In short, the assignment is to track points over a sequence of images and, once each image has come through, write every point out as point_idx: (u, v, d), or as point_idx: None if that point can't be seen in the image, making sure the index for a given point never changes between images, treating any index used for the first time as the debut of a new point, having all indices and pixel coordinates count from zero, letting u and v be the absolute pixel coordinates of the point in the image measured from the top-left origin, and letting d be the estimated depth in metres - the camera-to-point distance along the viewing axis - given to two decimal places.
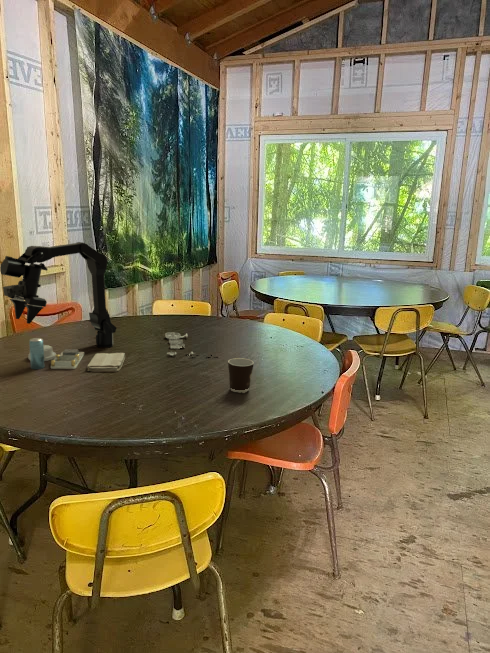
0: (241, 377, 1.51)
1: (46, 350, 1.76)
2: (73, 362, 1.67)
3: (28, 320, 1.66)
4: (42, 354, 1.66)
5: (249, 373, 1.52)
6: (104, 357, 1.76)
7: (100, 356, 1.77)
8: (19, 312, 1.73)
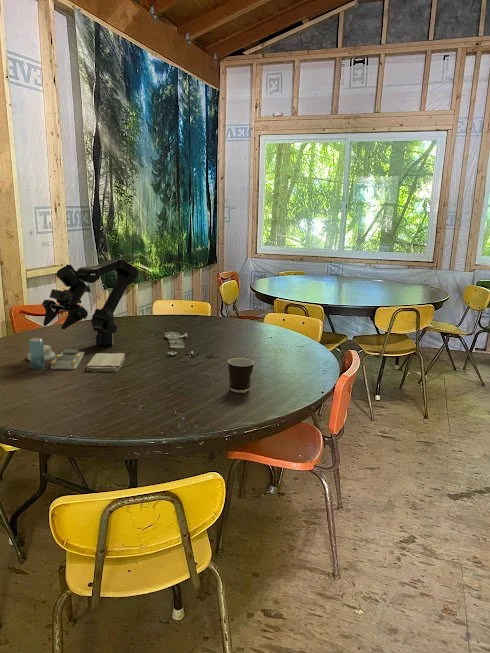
0: (241, 377, 1.51)
1: (45, 350, 1.76)
2: (73, 362, 1.67)
3: (64, 325, 1.70)
4: (42, 354, 1.66)
5: (249, 373, 1.52)
6: (104, 357, 1.76)
7: (100, 356, 1.77)
8: (48, 320, 1.75)
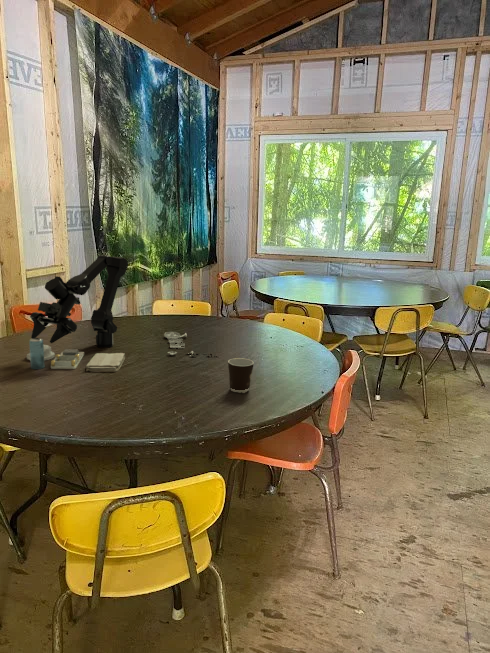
0: (241, 377, 1.51)
1: (44, 350, 1.76)
2: (73, 362, 1.67)
3: (52, 339, 1.66)
4: (42, 354, 1.66)
5: (249, 373, 1.52)
6: (103, 357, 1.75)
7: (100, 356, 1.77)
8: (36, 333, 1.71)
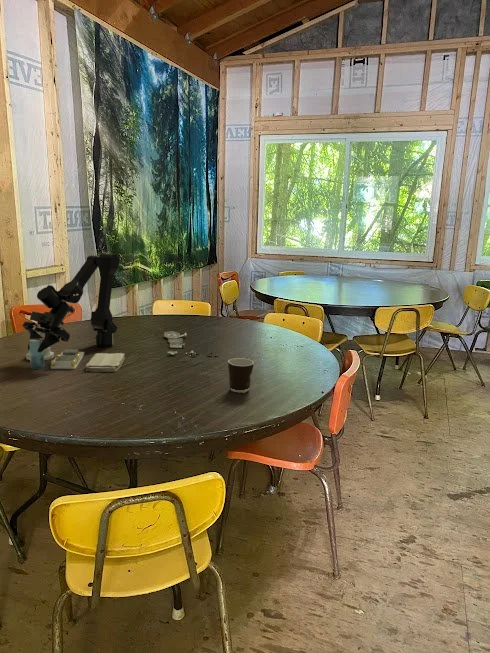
0: (241, 377, 1.51)
1: (44, 350, 1.76)
2: (73, 362, 1.67)
3: (40, 348, 1.64)
4: (42, 354, 1.66)
5: (249, 373, 1.52)
6: (103, 357, 1.75)
7: (99, 356, 1.77)
8: None
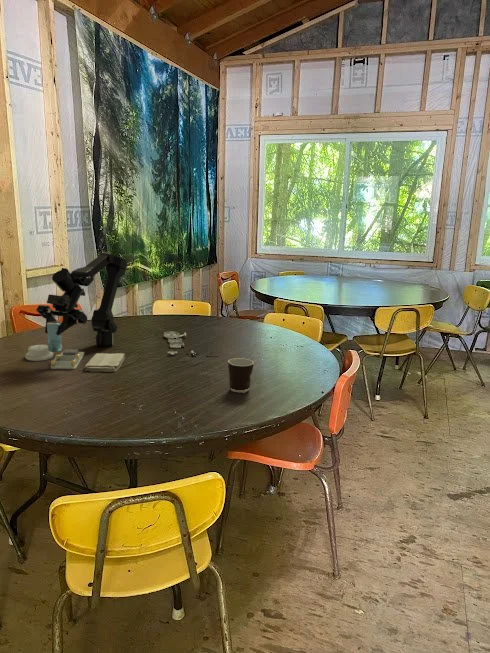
0: (241, 377, 1.51)
1: (43, 349, 1.76)
2: (73, 362, 1.67)
3: (59, 331, 1.65)
4: (60, 337, 1.67)
5: (249, 373, 1.52)
6: (103, 357, 1.75)
7: (99, 356, 1.77)
8: None
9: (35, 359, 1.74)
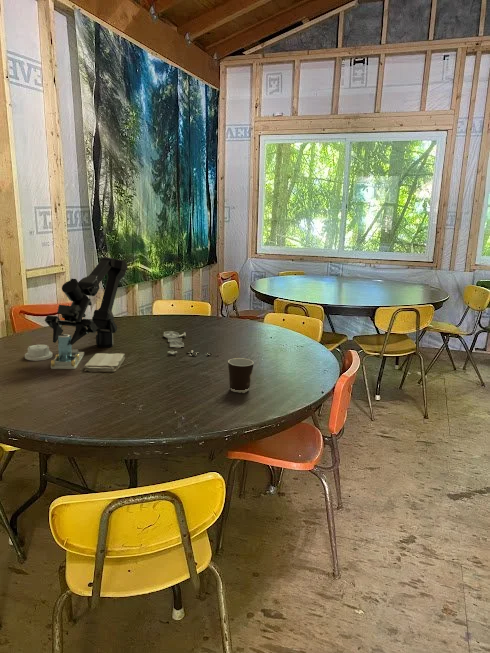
0: (241, 377, 1.51)
1: (42, 349, 1.76)
2: (73, 362, 1.67)
3: (72, 341, 1.67)
4: (71, 349, 1.70)
5: (249, 373, 1.52)
6: (103, 357, 1.75)
7: (99, 356, 1.77)
8: (57, 336, 1.70)
9: (34, 359, 1.74)
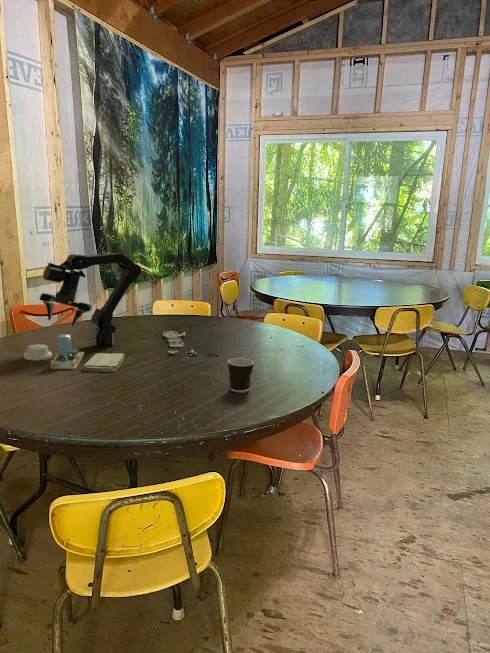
0: (241, 377, 1.51)
1: (42, 349, 1.76)
2: (73, 362, 1.67)
3: (73, 323, 1.84)
4: (71, 349, 1.70)
5: (249, 373, 1.52)
6: (102, 357, 1.75)
7: (99, 356, 1.77)
8: (51, 313, 1.84)
9: (33, 358, 1.74)
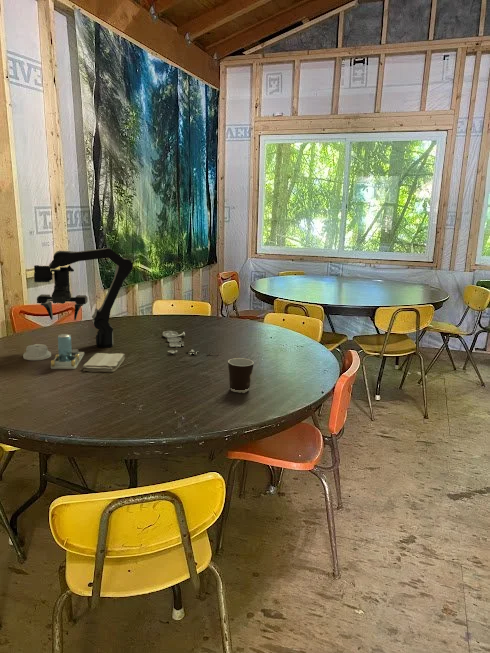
0: (241, 377, 1.51)
1: (41, 349, 1.77)
2: (73, 362, 1.67)
3: (75, 317, 1.90)
4: (71, 349, 1.70)
5: (249, 373, 1.52)
6: (102, 357, 1.75)
7: (99, 356, 1.77)
8: (51, 312, 1.89)
9: (32, 358, 1.74)
